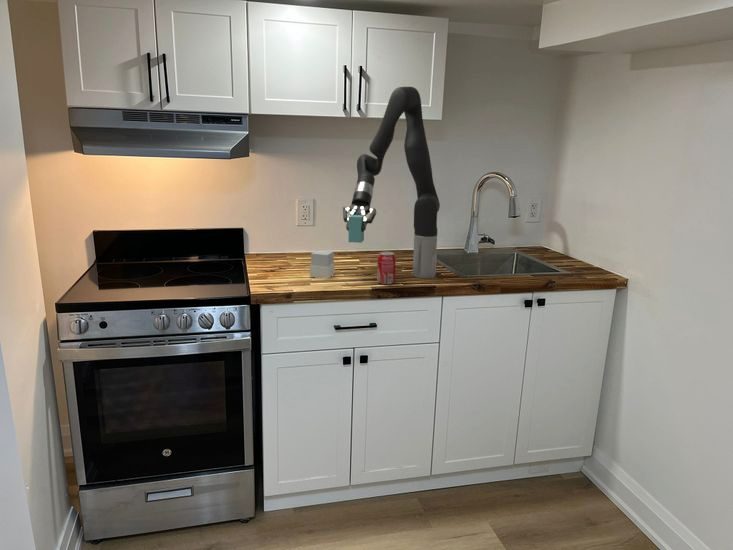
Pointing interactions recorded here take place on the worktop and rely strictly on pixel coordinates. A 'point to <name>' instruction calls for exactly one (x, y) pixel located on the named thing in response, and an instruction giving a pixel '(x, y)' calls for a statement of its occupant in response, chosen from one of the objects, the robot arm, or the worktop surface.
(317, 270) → the tower base
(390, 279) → the soda can
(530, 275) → the worktop surface
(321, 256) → the tower top
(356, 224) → the pillar
